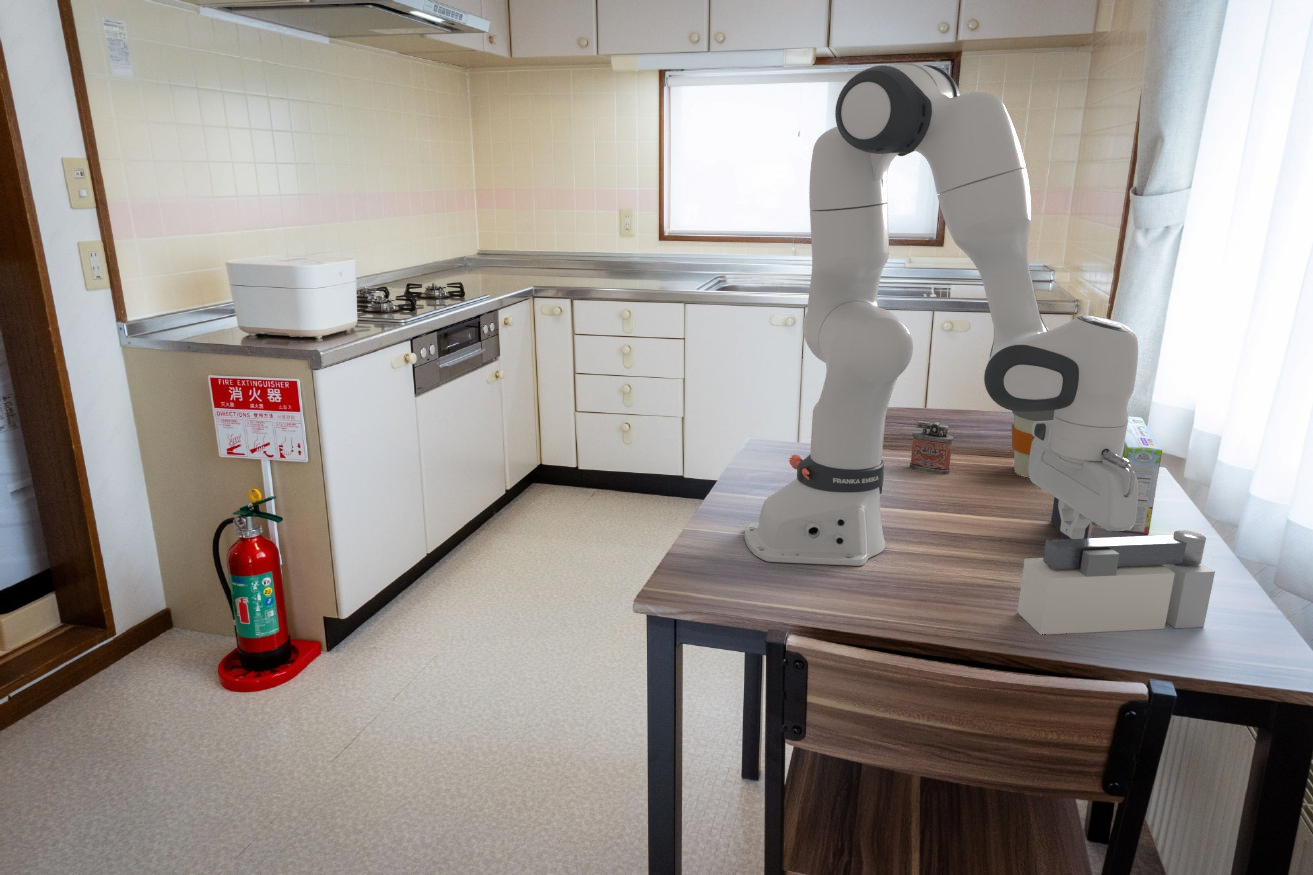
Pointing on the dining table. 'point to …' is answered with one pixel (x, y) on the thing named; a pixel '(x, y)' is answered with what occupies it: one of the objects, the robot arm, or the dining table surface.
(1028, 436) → the reusable coffee cup
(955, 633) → the dining table surface
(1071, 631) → the door slab
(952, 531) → the dining table surface
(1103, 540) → the swing bar
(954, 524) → the dining table surface
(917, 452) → the lighter
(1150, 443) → the snack box
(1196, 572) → the post
